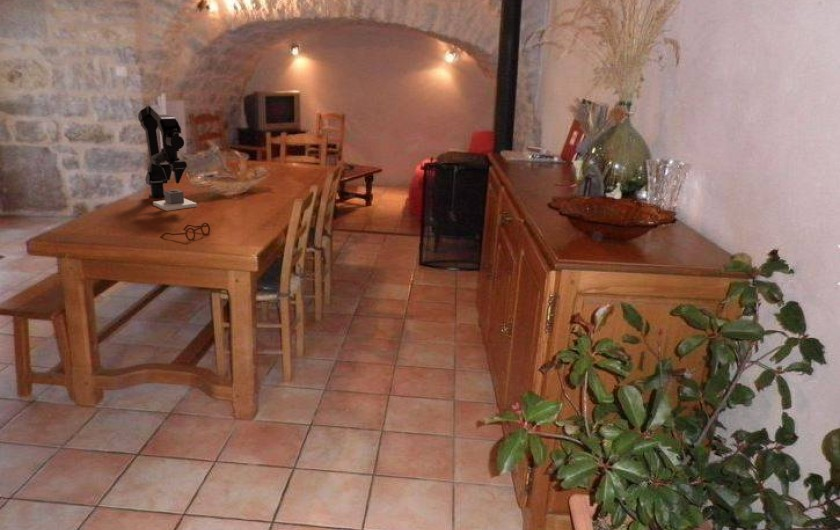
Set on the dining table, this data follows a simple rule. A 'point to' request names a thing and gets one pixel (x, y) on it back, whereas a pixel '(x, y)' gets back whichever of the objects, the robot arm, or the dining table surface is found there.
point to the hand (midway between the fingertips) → (172, 181)
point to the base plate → (174, 205)
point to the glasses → (192, 230)
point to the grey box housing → (174, 197)
